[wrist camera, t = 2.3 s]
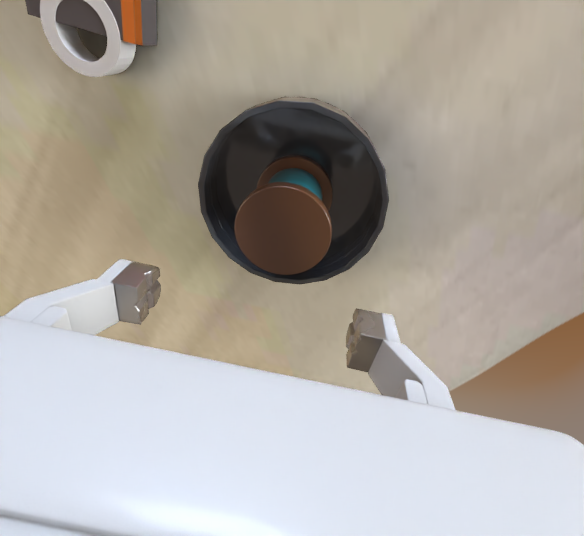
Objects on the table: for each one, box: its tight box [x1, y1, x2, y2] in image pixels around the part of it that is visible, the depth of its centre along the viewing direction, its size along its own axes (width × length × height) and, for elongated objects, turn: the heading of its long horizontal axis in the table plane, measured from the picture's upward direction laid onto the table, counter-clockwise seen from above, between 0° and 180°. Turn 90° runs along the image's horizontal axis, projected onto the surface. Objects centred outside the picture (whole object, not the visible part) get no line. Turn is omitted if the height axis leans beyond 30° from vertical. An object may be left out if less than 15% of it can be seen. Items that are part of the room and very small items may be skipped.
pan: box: [198, 97, 389, 284], centre depth 24 cm, size 13×13×3 cm
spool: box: [234, 155, 332, 275], centre depth 22 cm, size 6×6×7 cm
